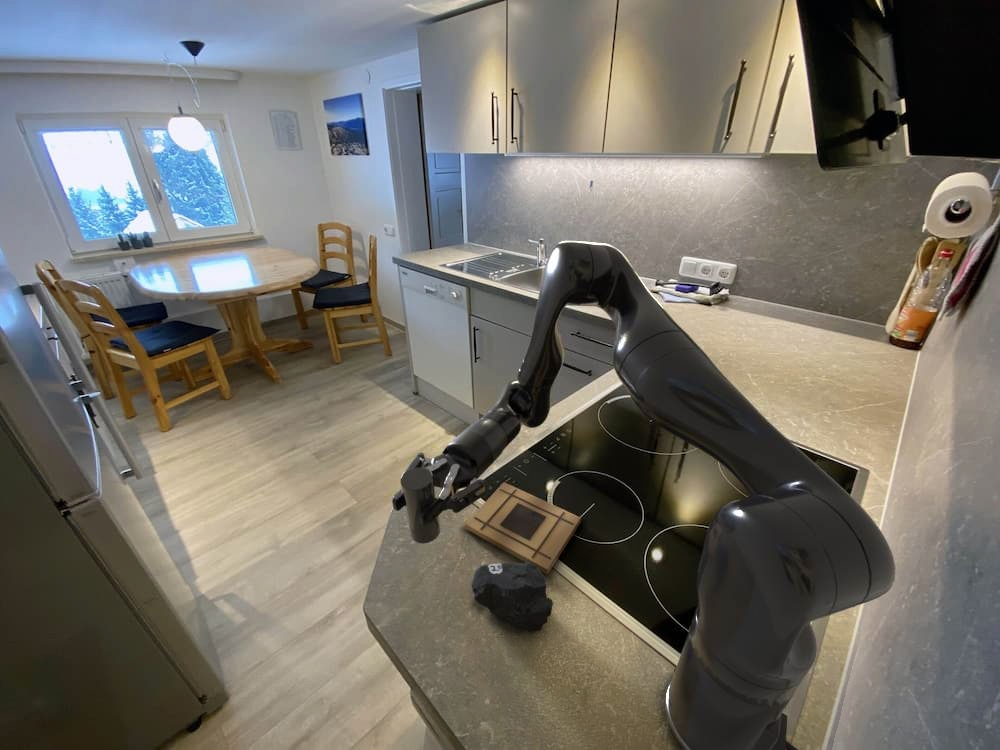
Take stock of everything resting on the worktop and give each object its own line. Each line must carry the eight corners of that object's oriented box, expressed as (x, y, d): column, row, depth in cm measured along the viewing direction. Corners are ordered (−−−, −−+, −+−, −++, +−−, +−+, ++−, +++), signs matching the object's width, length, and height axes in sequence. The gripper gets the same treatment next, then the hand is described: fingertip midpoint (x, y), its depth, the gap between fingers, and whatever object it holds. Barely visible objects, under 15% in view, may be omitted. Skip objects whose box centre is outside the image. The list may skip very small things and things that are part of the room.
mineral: (478, 646, 54) (476, 619, 52) (471, 584, 62) (469, 558, 60) (553, 632, 56) (555, 605, 53) (537, 573, 64) (538, 547, 61)
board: (580, 522, 72) (581, 517, 71) (547, 574, 63) (547, 569, 63) (504, 486, 80) (503, 481, 79) (465, 528, 71) (464, 523, 71)
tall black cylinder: (446, 527, 65) (439, 474, 60) (426, 548, 62) (416, 494, 57) (425, 515, 68) (416, 463, 62) (404, 535, 64) (393, 481, 59)
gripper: (442, 418, 74) (368, 475, 61) (511, 444, 67) (443, 514, 54) (446, 451, 77) (377, 512, 65) (512, 479, 70) (448, 553, 58)
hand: (408, 512), depth 60 cm, fingers closed on tall black cylinder, 4 cm apart
